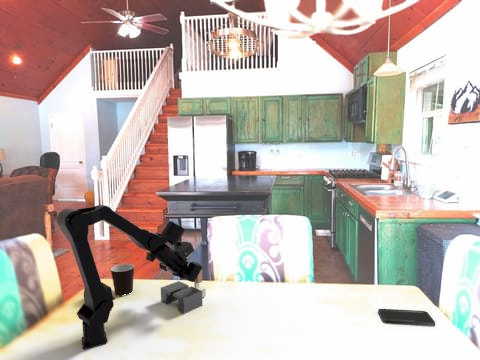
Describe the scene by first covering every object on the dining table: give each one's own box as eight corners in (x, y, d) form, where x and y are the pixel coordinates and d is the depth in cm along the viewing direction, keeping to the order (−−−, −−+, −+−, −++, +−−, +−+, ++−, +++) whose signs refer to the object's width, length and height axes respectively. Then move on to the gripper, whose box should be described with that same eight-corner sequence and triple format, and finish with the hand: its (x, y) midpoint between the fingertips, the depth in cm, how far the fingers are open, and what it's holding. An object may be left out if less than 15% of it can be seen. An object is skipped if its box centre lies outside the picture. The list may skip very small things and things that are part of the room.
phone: (377, 308, 110) (426, 310, 107) (377, 311, 110) (426, 314, 107) (383, 320, 102) (436, 323, 100) (383, 324, 102) (436, 327, 100)
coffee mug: (131, 297, 125) (129, 271, 124) (108, 297, 126) (106, 271, 125) (140, 284, 137) (139, 261, 136) (120, 285, 137) (118, 261, 136)
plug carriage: (184, 305, 117) (183, 275, 116) (176, 301, 120) (175, 272, 119) (205, 296, 124) (204, 268, 123) (197, 292, 127) (196, 265, 126)
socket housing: (184, 313, 111) (183, 298, 111) (161, 301, 121) (160, 287, 120) (202, 305, 117) (201, 290, 117) (179, 294, 126) (178, 281, 126)
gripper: (196, 240, 111) (222, 264, 120) (164, 232, 124) (189, 254, 132) (178, 270, 106) (206, 292, 115) (147, 258, 119) (174, 279, 127)
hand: (193, 278), depth 122 cm, fingers closed
